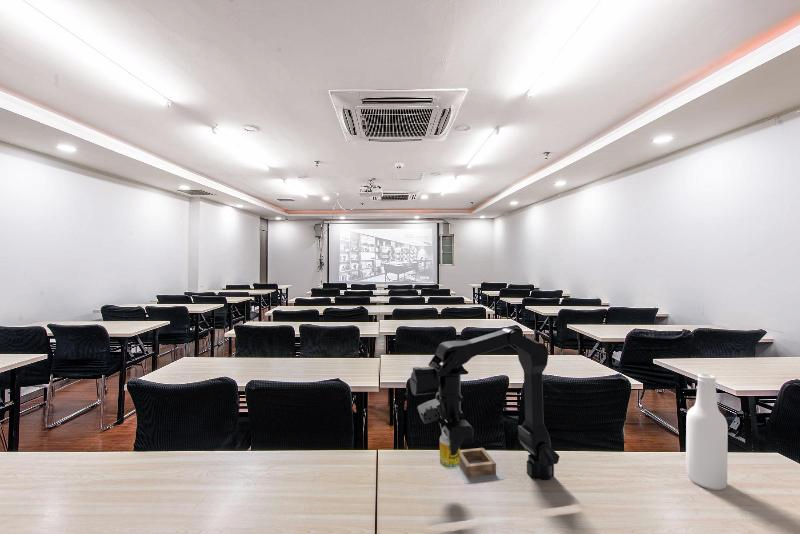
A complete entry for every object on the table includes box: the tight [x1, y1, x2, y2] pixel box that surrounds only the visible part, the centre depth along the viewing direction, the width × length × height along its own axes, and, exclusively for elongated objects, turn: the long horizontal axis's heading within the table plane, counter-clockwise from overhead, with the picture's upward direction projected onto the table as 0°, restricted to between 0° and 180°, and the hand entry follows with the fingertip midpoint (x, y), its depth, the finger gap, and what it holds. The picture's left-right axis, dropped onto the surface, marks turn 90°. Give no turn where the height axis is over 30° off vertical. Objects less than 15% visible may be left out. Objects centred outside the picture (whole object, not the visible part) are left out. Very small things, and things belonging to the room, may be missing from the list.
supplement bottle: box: [439, 426, 461, 470], centre depth 94 cm, size 5×5×10 cm
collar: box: [460, 447, 497, 477], centre depth 105 cm, size 9×9×3 cm
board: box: [455, 460, 506, 485], centre depth 105 cm, size 12×14×1 cm
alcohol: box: [685, 373, 729, 491], centre depth 99 cm, size 9×9×30 cm
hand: (449, 449), depth 94 cm, fingers closed on supplement bottle, 5 cm apart
